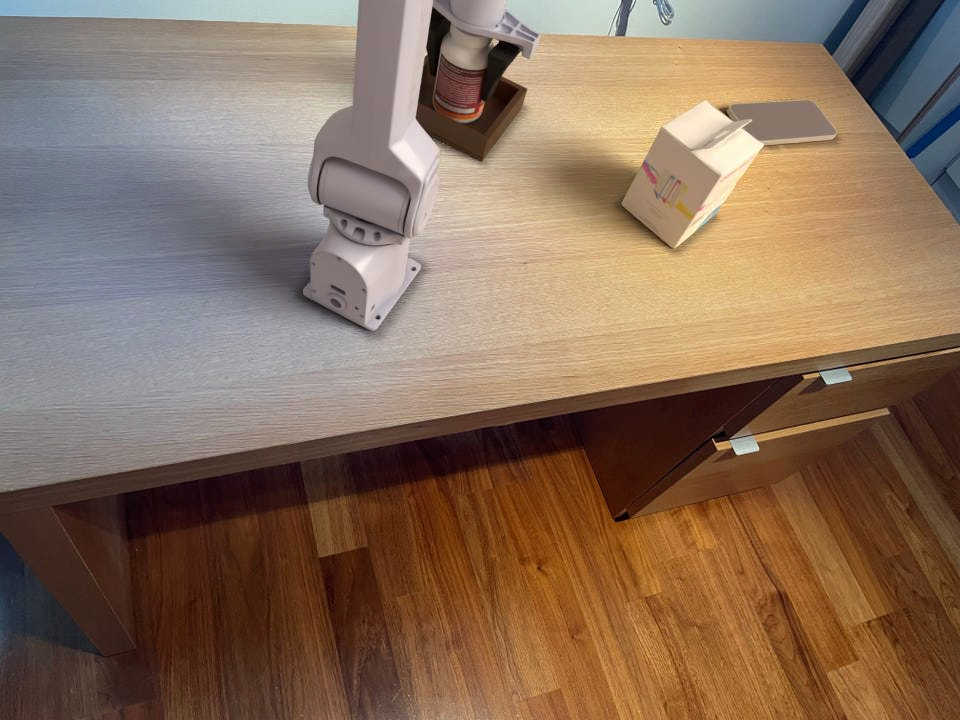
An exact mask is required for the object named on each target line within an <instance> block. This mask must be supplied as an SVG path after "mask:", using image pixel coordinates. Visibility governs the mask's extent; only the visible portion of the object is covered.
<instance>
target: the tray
mask: <svg viewBox="0 0 960 720" xmlns="http://www.w3.org/2000/svg"><path fill="white" fill-rule="evenodd" d="M435 79H436V76H435V77H434V76H432V75H430V69H429V61H428V55H427V54H425V58H424V65H423V71H422V78H421V85H420V91H419V98H418V105H417V111H416V120H417V122H418V123H419V124H420V126H421V127H422V128H423V129H424V130H425V132H426V133H427V134H428V135H429V136H430V137H431V138H433V139H436V140H438V141H440V142H442V143H444V144H446V145H448V146H450V147H452V148H454V149H456V150H458V151H460V152H462V153H464V154H466V155H468V156H470V157H471V158H474V159H476V160H478V161H480V162H483V161H484V160H485V158H486V157H487V156H488V154H489V153H490V152H491V151H492V149H493V148H494V146H495V145H496V143H497V142H498V141H499V140H500V138H501V137H502V136H503V135H504V133H505V131H506V130H507V129H508V128H509V126H510V125H511V124H512V123H513V121H514V120H515V118H516V117H517V116H518V115H519V113H520V112H521V110H522V109H523V105H524V103H525V99H526V95H527V92H528V88H527V87H525V86H523V85H521V84H519V83H517V82H514V81H512V80H510V79H509V78H506V77H504V76H502V77H501V79H500V80H499V82H498V84H497V86H496V89H495V91H494V94H493V95H492V96H491V98H490V99H489V100H488V101H487V102H485V103H484V107H483V111H482V113H481V115H480V117H479V118H478V119H476V120H475V121H473V122H470V123H459V122H457V121H455V120H453V119H451V118H449V117H447V116H445V115H443V114H441V113H439V112H437V111H436V110H435V109H434V107H433V102H432V100H433V92H434V86H435Z"/></svg>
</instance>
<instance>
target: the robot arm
mask: <svg viewBox="0 0 960 720" xmlns="http://www.w3.org/2000/svg"><path fill="white" fill-rule="evenodd" d="M507 1H508V0H358V4H357V5H358V6H357V22H356V23H357V24H356V38H355V39H356V40H355V54H354V55H355V57H354V58H355V59H354V74H353V90H352V105H350V106H347V107H344V108H341V109H338V110H337V111H335V112H333V113H332V114H331V115H329V117H328V119H326V121H325V122H324V124H322V126H321V127H320V129H319V131H318V132H317V135H316V136H315V138H314V142H313V153H312V158H311V161H310V164H309V169H308V174H307V190H308V193H309V196H310V200H311V201H312V202H313V203H314V204H317V205H319V206H322V205H323V206H322V207H323V208H322V209H323V210H322V213H323V217H325V218H327V219H328V220H329V223H328V226H327V230H326V231H325V235H324V236H323V239H322V240H321V242H320V243H319V244H318V245H317V246H316V248H315V249H314V250H313V252H312V253H311V255H310V258H309V277H310V281H309V282H308V283H307V284H306V285H305V287H304V288H303V289H302V294H303V296H304V297H306V298H308V299H309V300H311V301H313V302H315V303H317V304H319V305H320V306H323V307H325V308H327V309H328V310H330V311H332V312H334V313H336V314H338V315H340V316H341V317H344V318H346V319H347V320H349V321H351V322H353V323H355V324H357V325H359V326H360V327H362V328H364V329H366V330H368V331H370V332H375V331H377V330H378V328H379V327H380V325H381V324H382V323H383V322H384V320H385V319H386V317H387V316H388V315H389V313H390V312H391V311H392V309H393V308H394V307H395V305H396V304H397V302H398V301H399V299H401V297H402V295H404V293H405V292H406V290H407V289H408V287H409V286H410V285H411V283H412V282H413V280H414V279H415V278H416V276H417V275H418V273H419V272H420V271H421V268H422V265H421V263H420V262H418V261H416V260H415V259H412V258H410V257H409V250H410V245H411V240H414V238H416V237H418V236H420V235H421V234H422V233H423V231H424V230H425V228H426V226H427V224H428V221H429V219H430V217H431V214H432V212H433V209H434V206H435V203H436V201H437V196H438V192H439V188H440V183H441V176H440V166H441V158H440V153H441V150H440V147H439V146H438V145H437V144H436V142H434V139H432V137H431V136H430V135H428V134H427V133H426V132H425V130H424V129H423V128H422V127H421V126H420V124H419V123H418V122H417V120H416V111H417V105H418V98H419V91H420V85H421V78H422V71H423V65H424V58H425V56H426V55H428V61H429V69H430V75H432V76H434V77H435V76H436V73H437V67H438V61H439V54H440V48H441V43H442V40H443V38H444V36H445V35H446V34H447V33H448V32H450V26H451V22H452V23H453V24H454V25H455V26H457V27H458V28H460V29H462V30H464V31H466V32H469V33H473V34H477V35H481V36H485V37H489V38H493V40H496V41H498V42H497V43H496V44H495V45H494V48H493V49H492V50H491V51H490V52H489V53H488V67H487V76H486V81H485V84H484V88H483V91H482V96H481V100H483V101H485V102H487V101H488V100H489V99H490V98H491V96H492V95H493V94H494V91H495V89H496V86H497V84H498V82H499V80H500V79H501V77H503V75H504V74H505V72H506V70H507V69H508V68H509V66H511V64H512V63H513V62H514V60H515V59H516V58H517V57H518V56H519V55H520V53H521V56H522V57H523V58H525V59H527V60H531V59H532V58H533V56H534V55H535V54H536V53H537V52H538V48H539V44H540V42H541V37H542V34H540V33H538V32H536V31H534V30H533V29H532V28H530V27H528V26H527V25H526V24H524V23H523V22H522V21H521V20H520V19H518V18H517V17H516V16H515V15H514V14H512V13H511V12H510V11H508V9H506V6H507V5H506V4H507ZM378 318H379V319H378Z"/></svg>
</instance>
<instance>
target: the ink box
mask: <svg viewBox="0 0 960 720" xmlns="http://www.w3.org/2000/svg"><path fill="white" fill-rule="evenodd" d="M751 121H752V119H746V120H741V121H735V122H733V121H732V120H731V118H730V117H729V116H727V115H726V114H725V113H723V112H722V111H721V110H719V109H718V108H717V107H715V105H713V104H711V102H709V101H708V100H707V99H704V100H702V101H700V102H699V103H697V104H695V105H694V106H692V107H690V108H689V109H687V110H686V111H684V112H682V113H681V114H679V115H678V116H676V117H675V118H673V119H671V120H669V121H668V122H666V123H665V124H663V125H661V127H660V128H659V130H658V133H657V134H656V136H655V138H654V140H653V143H652V144H651V146H650V148H649V150H648V152H647V154H646V156H645V158H644V159H643V161H642V163H641V165H640V167H639V169H638V171H637V173H636V175H635V176H634V178H633V180H632V183H631V184H630V186H629V188H628V189H627V191H626V194H625V195H624V198H623V199H622V201H621V202H620V203H621V206H622V207H623V208H624V209H625V210H626V211H628V213H630V215H632V216H633V217H635V218H636V219H637V220H638V221H639V222H641V224H643V225H644V226H645V227H646V228H648V229H649V230H650V231H651V232H652V233H654V234H655V235H656V236H657V237H658V238H660V239H661V240H662V241H663V242H664V243H666V244H667V245H668V246H669V247H670V248H671V249H676V248H678V247H679V246H680V245H681V244H682V243H684V241H686V240H687V239H688V238H690V237H691V236H692V235H693V234H694V233H696V232H697V231H698V230H699V229H700V228H702V226H703V225H705V224H706V223H708V222H709V221H710V220H711V219H712V218H713V217H714V216H715V215H717V212H719V210H720V209H721V207H722V206H723V203H725V201H726V200H727V199H728V197H729V196H730V194H731V192H732V191H733V190H734V188H735V187H736V185H737V184H738V183H739V181H740V179H742V177H743V176H744V174H745V172H746V171H747V169H748V168H749V167H750V165H751V164H752V163H753V161H754V159H756V157H757V155H758V154H759V153H760V151H761V150H762V148H763V147H764V146H765V145H764V144H763V143H761V142H760V141H759V140H757V139H756V138H754V137H753V136H752V135H750V134H749V133H748V132H746V131H745V130H744V129H742V127H744V126H745V125H747V124H748V123H749V122H751Z"/></svg>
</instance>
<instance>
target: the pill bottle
mask: <svg viewBox="0 0 960 720" xmlns="http://www.w3.org/2000/svg"><path fill="white" fill-rule="evenodd" d="M493 40H494V39H493V38H489V37H485V36H481V35H477V34H473V33H469V32H466V31H464V30H462V29H460V28H458V27H457V26H455V25H454V24H453V23H452V22H451V26H450V32H448V33H447V34H446V35H445V36H444V38H443V40H442V43H441V48H440V54H439V61H438V67H437V73H436V79H435V86H434V92H433V100H432V102H433V107H434V109H435V110H436V111H437V112H439V113H441V114H443V115H445V116H447V117H449V118H451V119H453V120H455V121H457V122H459V123H470V122H473V121H475V120H476V119H478V118H479V117H480V115H481V113H482V111H483V107H484V103H485V101H483V100H481V96H482V91H483V88H484V84H485V81H486V76H487V67H488V53H489V52H490V51H491V50H492V49H493V48H494V47H495V45H494V42H493Z"/></svg>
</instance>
